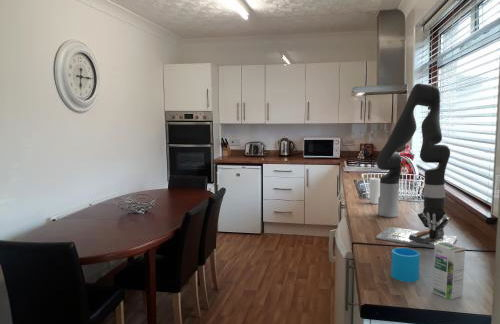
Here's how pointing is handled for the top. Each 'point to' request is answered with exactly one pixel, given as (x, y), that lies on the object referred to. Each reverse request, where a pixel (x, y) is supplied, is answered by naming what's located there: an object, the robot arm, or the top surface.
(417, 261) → the mug
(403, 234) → the panel
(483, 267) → the top surface
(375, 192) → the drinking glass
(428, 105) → the robot arm
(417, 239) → the cable arm
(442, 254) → the syrup box
